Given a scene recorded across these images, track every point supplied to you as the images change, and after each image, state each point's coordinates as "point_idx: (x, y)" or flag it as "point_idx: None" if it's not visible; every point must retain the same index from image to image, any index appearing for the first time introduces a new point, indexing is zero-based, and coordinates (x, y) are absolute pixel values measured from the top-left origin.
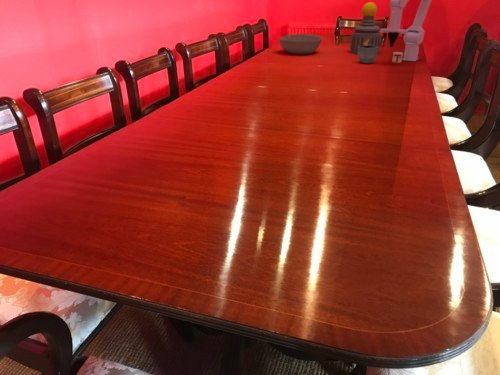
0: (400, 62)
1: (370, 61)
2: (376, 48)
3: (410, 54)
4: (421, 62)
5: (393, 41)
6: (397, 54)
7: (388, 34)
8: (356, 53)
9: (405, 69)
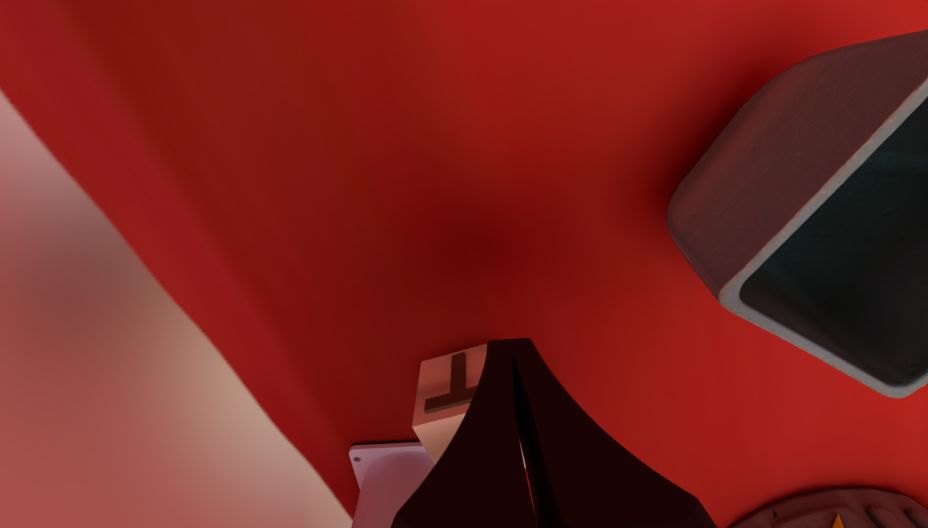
0: (427, 361)
1: (704, 157)
2: (749, 244)
3: (387, 495)
4: (294, 440)
5: (476, 402)
6: (463, 406)
7: (686, 523)
8: (880, 490)
9: (199, 43)
